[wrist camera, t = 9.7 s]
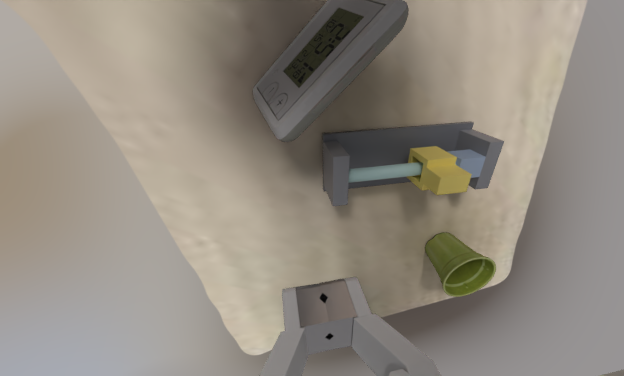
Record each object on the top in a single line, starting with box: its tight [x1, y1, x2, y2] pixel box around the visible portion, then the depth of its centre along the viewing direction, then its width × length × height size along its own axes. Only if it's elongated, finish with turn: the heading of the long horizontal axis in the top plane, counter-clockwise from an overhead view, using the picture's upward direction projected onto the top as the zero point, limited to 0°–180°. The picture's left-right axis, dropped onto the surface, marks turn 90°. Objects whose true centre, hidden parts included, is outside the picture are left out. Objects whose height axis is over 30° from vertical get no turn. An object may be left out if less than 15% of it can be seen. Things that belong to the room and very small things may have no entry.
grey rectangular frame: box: [323, 122, 504, 206], centre depth 36 cm, size 23×9×6 cm, turn 92°
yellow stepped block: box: [407, 146, 472, 195], centre depth 33 cm, size 4×4×7 cm
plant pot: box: [425, 233, 496, 297], centre depth 46 cm, size 9×9×9 cm
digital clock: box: [253, 0, 408, 142], centre depth 26 cm, size 16×9×11 cm, turn 123°
